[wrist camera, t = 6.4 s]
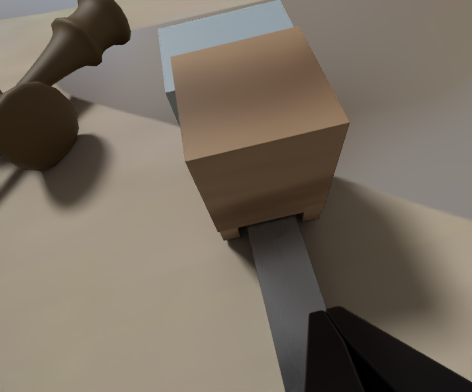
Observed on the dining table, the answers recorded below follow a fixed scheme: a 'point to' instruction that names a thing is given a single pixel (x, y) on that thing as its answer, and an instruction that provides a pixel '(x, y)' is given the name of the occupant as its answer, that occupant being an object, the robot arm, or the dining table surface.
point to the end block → (217, 35)
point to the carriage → (258, 128)
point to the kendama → (49, 98)
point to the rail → (286, 292)
